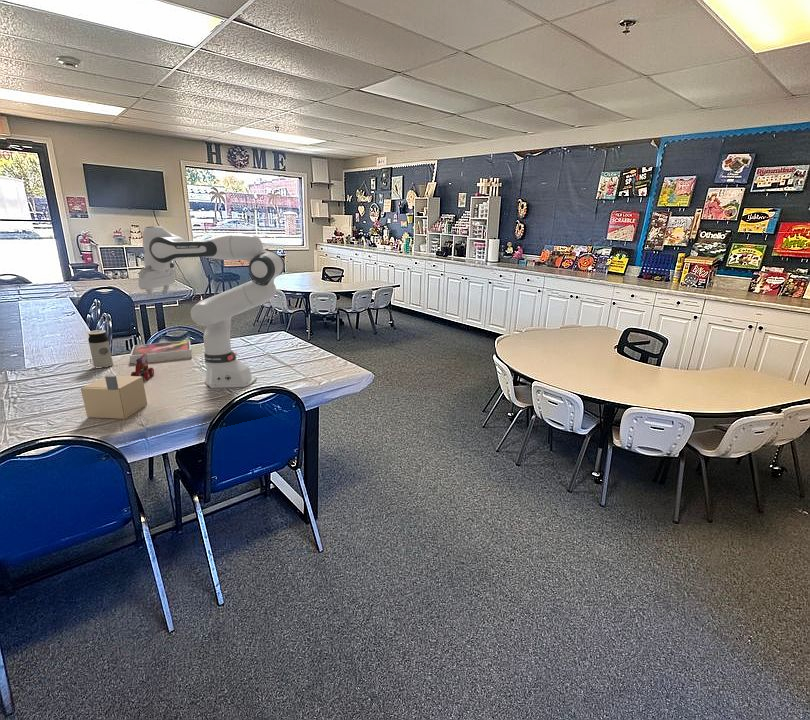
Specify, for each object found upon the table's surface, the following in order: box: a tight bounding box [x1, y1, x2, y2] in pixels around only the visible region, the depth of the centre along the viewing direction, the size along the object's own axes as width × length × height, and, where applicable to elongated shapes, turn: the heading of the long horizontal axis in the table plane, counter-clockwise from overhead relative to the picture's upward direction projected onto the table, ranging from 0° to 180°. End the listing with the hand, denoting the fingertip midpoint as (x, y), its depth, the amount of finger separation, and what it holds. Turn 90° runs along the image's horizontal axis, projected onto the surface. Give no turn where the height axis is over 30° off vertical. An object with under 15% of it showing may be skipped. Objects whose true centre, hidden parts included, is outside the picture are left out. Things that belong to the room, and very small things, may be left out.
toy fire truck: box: [130, 354, 155, 381], centre depth 198 cm, size 7×12×10 cm, turn 11°
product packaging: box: [129, 339, 193, 364], centre depth 232 cm, size 22×28×5 cm
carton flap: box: [80, 375, 125, 420], centre depth 155 cm, size 14×1×17 cm, turn 87°
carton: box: [82, 374, 148, 419], centre depth 163 cm, size 14×13×12 cm
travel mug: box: [87, 329, 114, 368], centre depth 211 cm, size 8×8×18 cm
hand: (158, 296), depth 186 cm, fingers open, 8 cm apart
